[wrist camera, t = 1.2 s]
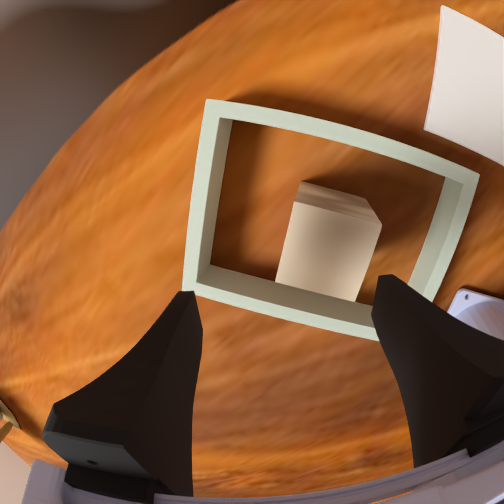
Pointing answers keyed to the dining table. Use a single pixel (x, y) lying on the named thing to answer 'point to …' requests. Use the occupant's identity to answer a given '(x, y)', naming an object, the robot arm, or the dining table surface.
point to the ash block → (328, 242)
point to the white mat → (468, 86)
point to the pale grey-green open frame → (288, 297)
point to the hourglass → (4, 412)
